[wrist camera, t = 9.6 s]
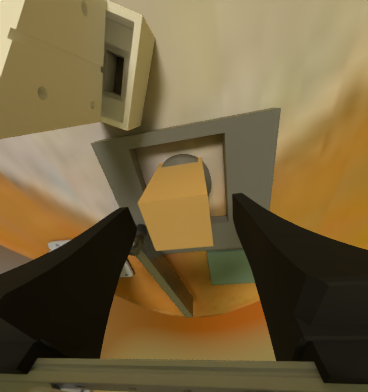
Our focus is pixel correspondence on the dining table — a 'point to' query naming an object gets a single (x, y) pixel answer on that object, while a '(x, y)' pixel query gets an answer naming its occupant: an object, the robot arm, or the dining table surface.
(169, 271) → the retaining bar
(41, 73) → the white wedge bracket
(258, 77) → the dining table surface
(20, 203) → the dining table surface
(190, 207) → the plug
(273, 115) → the dock plate
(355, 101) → the dining table surface
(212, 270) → the pad
